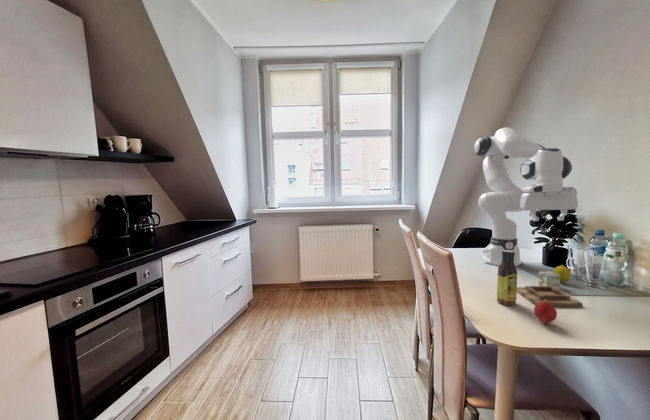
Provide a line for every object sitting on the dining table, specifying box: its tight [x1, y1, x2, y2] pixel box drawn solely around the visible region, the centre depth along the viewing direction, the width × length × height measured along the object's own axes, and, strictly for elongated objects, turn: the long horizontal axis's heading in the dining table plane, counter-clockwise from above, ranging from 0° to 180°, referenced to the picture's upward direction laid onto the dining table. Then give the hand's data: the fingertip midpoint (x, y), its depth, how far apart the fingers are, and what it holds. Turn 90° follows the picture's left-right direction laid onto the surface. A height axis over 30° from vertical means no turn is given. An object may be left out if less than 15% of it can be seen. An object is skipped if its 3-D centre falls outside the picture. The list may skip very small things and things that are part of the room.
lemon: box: [553, 264, 571, 284], centre depth 125 cm, size 6×6×8 cm
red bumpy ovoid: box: [533, 300, 558, 325], centre depth 92 cm, size 6×6×8 cm
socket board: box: [517, 285, 583, 308], centre depth 110 cm, size 15×15×3 cm
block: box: [538, 271, 561, 290], centre depth 121 cm, size 5×5×6 cm
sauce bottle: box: [496, 250, 518, 306], centre depth 108 cm, size 7×6×20 cm
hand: (548, 220), depth 120 cm, fingers open, 8 cm apart
